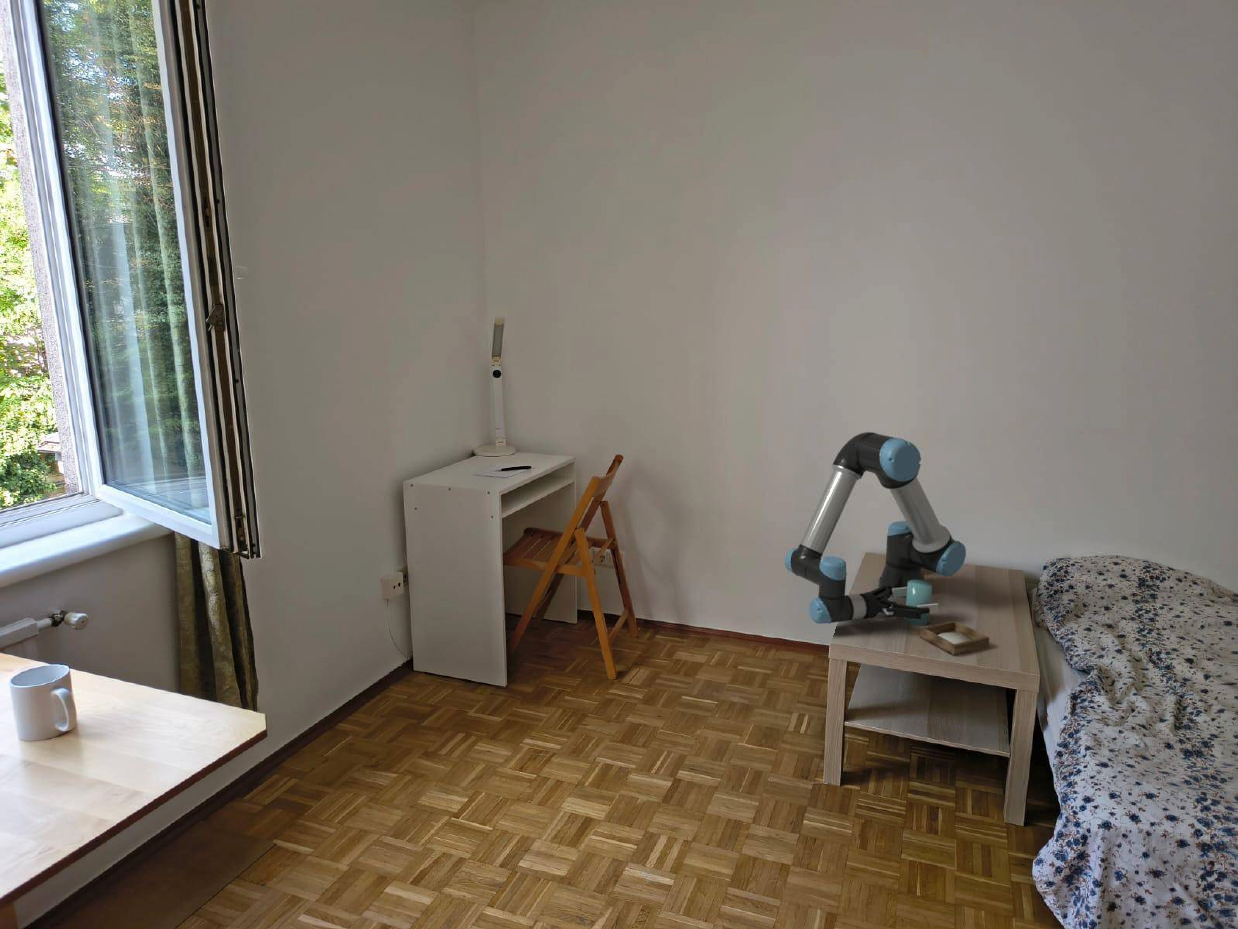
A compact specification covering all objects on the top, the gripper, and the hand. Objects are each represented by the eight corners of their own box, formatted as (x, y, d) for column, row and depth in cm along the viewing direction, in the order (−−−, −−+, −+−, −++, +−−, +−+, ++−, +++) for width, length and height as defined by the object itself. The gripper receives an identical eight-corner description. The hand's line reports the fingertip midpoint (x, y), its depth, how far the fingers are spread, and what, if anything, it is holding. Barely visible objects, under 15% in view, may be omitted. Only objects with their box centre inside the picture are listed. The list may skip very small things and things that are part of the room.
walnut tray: (919, 637, 247) (920, 628, 247) (953, 629, 252) (954, 620, 252) (953, 656, 236) (954, 646, 235) (988, 647, 241) (989, 637, 240)
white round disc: (930, 637, 246) (930, 636, 246) (953, 631, 250) (954, 630, 250) (953, 650, 238) (953, 648, 238) (977, 644, 242) (977, 642, 242)
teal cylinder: (899, 618, 260) (902, 581, 258) (917, 614, 263) (920, 578, 260) (916, 627, 254) (919, 589, 251) (933, 623, 257) (937, 586, 254)
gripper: (839, 602, 265) (900, 595, 270) (882, 635, 242) (947, 627, 247) (841, 579, 263) (902, 573, 268) (883, 611, 240) (949, 603, 245)
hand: (924, 599), depth 257 cm, fingers open, 13 cm apart
